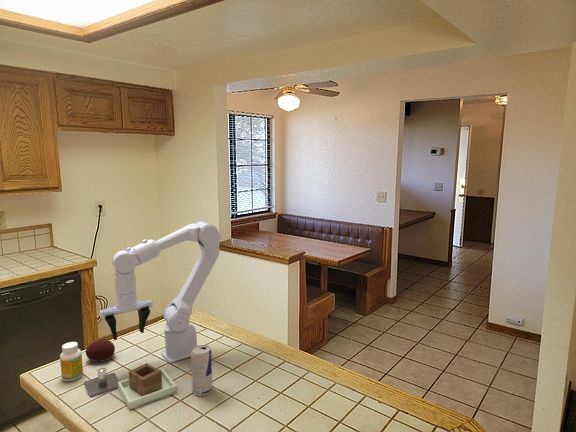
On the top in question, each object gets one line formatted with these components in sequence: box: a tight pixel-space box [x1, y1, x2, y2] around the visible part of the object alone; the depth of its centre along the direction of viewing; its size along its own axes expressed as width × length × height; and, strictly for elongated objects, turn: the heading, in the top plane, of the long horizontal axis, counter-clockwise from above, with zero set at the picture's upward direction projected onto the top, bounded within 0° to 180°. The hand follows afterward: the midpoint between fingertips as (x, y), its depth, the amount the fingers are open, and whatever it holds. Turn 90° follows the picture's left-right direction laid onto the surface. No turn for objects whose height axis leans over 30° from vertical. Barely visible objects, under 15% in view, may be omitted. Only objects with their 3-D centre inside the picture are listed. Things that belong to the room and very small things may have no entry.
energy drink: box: [190, 344, 213, 397], centre depth 105 cm, size 5×5×12 cm
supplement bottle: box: [59, 341, 84, 382], centre depth 112 cm, size 5×5×10 cm
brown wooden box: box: [128, 362, 162, 396], centre depth 106 cm, size 7×5×5 cm
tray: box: [117, 367, 178, 411], centre depth 106 cm, size 12×11×2 cm
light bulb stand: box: [83, 367, 120, 398], centre depth 108 cm, size 8×8×5 cm
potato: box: [84, 339, 116, 362], centre depth 122 cm, size 7×8×6 cm
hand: (128, 335), depth 117 cm, fingers open, 7 cm apart
